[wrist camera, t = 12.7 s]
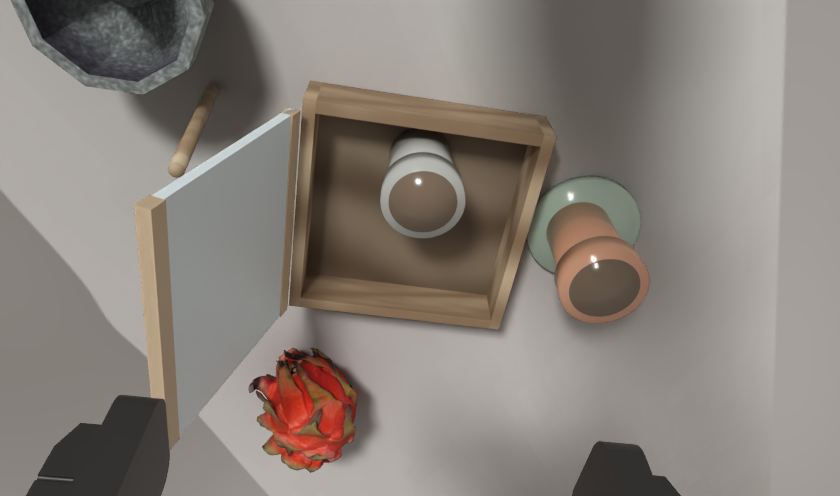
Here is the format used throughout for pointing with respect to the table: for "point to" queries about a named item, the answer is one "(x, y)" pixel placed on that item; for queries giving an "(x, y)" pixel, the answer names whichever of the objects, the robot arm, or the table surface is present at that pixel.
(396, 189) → the grey pot
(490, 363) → the table surface
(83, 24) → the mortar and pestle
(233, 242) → the lid
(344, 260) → the box
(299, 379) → the dragon fruit
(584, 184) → the saucer
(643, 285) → the terracotta pot
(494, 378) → the table surface
